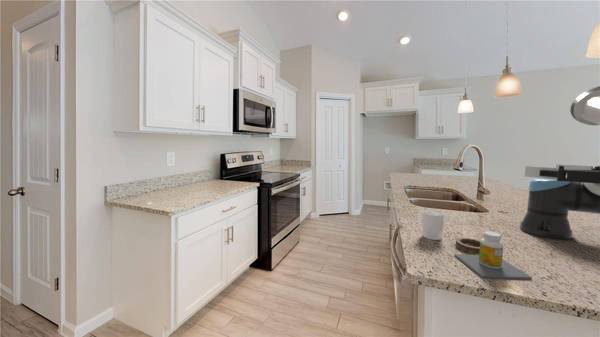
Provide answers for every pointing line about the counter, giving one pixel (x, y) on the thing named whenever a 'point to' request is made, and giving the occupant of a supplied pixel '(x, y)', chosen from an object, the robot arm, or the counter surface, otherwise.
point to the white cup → (432, 224)
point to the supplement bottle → (491, 250)
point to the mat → (485, 272)
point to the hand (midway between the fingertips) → (541, 170)
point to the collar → (462, 245)
